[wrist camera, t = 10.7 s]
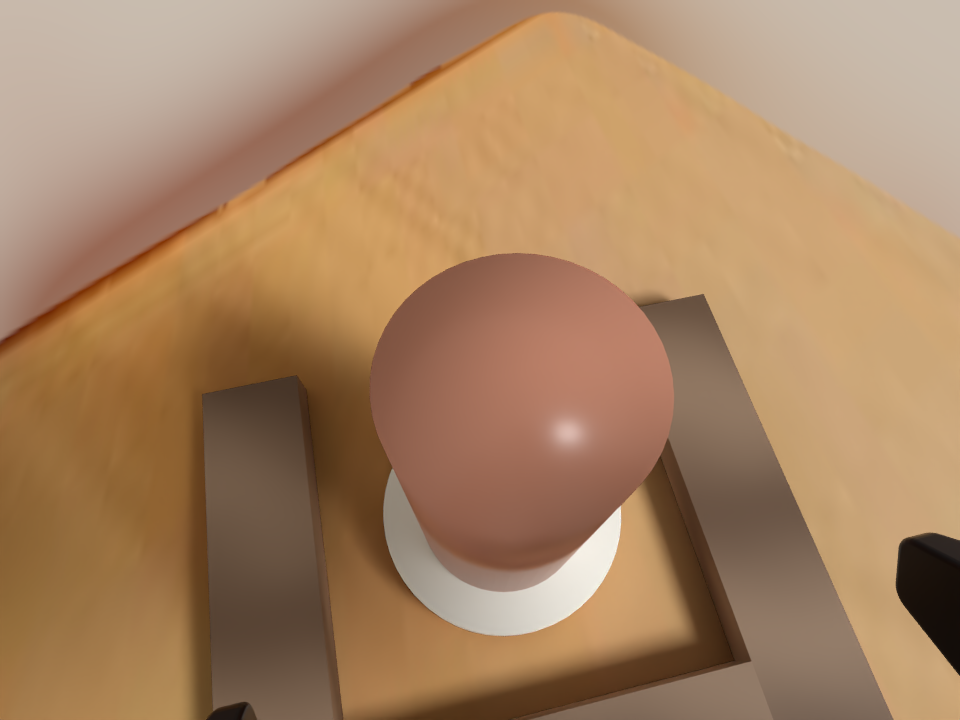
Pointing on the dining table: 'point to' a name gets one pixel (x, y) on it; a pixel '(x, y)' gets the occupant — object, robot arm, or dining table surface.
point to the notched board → (701, 499)
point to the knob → (515, 436)
